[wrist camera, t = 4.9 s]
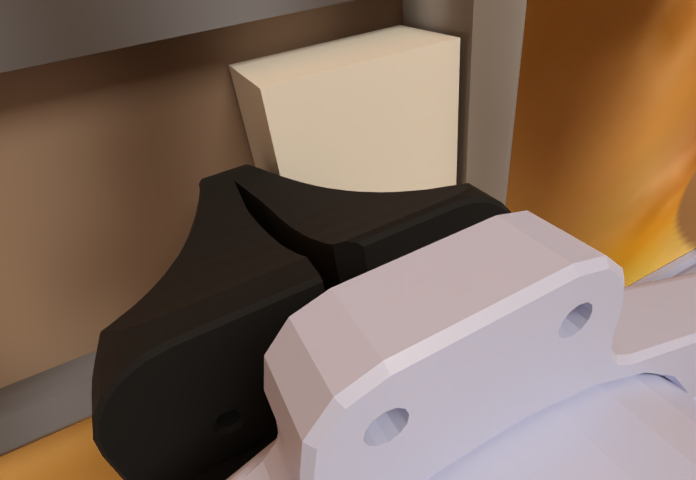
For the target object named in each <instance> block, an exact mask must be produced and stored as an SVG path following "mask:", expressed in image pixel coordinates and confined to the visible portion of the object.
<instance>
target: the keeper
mask: <svg viewBox="0 0 696 480" xmlns="http://www.w3.org/2000/svg"><path fill="white" fill-rule="evenodd" d="M459 67H460V37H455V36H450V35H445V34H441V33H436V32H431V31H426V30H422V29H417V28H412V27H407V26H402V25H397V26H393V27H389V28H384V29H380V30H376V31H372V32H367V33H363V34H359V35H354V36H350V37H346V38H341V39H337V40H333V41H329V42H324V43H320V44H316V45H311V46H307V47H303V48H298V49H294V50H290V51H286V52H281V53H277V54H273V55H268V56H264V57H260V58H256V59H251V60H247V61H243V62H238V63H234V64H230V65H229V69H230V73H231V77H232V80H233V84H234V88H235V92H236V96H237V99H238V103H239V107H240V111H241V114H242V118H243V122H244V126H245V130H246V133H247V137H248V141H249V145H250V149H251V152H252V156H253V160H254V164H255V167H257V168H260V169H263V170H265V171H268V172H271V173H274V174H277V175H280V176H283V177H286V178H289V179H292V180H295V181H299V182H303V183H307V184H311V185H315V186H320V187H325V188H331V189H339V190H346V191H358V192H402V191H415V190H426V189H433V188H439V187H445V186H452V185H456V175H457V139H458V103H459Z"/></svg>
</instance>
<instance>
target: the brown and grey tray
mask: <svg viewBox="0 0 696 480" xmlns="http://www.w3.org/2000/svg"><path fill="white" fill-rule="evenodd" d="M526 5H527V0H0V457H1V456H3V455H5V454H7V453H10V452H12V451H14V450H17V449H19V448H21V447H23V446H26V445H28V444H30V443H33V442H35V441H37V440H39V439H42V438H44V437H46V436H49V435H51V434H53V433H55V432H58V431H60V430H62V429H65V428H67V427H69V426H71V425H74V424H76V423H78V422H81V421H83V420H85V419H87V418H90V417H92V395H91V391H92V375H93V369H94V363H95V357H96V352H97V346H98V341H99V335H100V332H101V331H102V330H103V329H105V328H106V327H108V326H109V325H110V324H111V323H113V322H114V321H115V320H116V319H118V318H119V317H120V316H121V315H123V314H124V313H125V312H126V311H128V310H129V309H130V308H131V307H133V306H134V305H135V304H136V303H137V302H138V301H139V300H140V299H142V298H143V297H144V296H145V295H146V294H147V293H148V292H149V291H150V290H151V289H152V288H153V287H154V286H155V284H156V283H157V282H158V281H159V280H160V279H161V278H162V277H163V276H164V274H165V273H166V272H167V270H168V269H169V268H170V266H171V265H172V263H173V262H174V261H175V259H176V258H177V257H178V255H179V254H180V252H181V250H182V248H183V246H184V244H185V242H186V240H187V238H188V235H189V233H190V230H191V227H192V224H193V221H194V218H195V215H196V211H197V206H198V201H199V192H200V189H199V183H200V181H201V179H203V178H206V177H209V176H212V175H215V174H218V173H221V172H224V171H227V170H230V169H233V168H236V167H239V166H242V165H245V164H248V165H251V166H254V167H255V164H254V160H253V156H252V152H251V149H250V145H249V141H248V137H247V133H246V130H245V126H244V122H243V118H242V114H241V111H240V107H239V103H238V99H237V96H236V92H235V88H234V84H233V80H232V77H231V73H230V69H229V65H230V64H234V63H238V62H243V61H247V60H251V59H256V58H260V57H264V56H268V55H273V54H277V53H281V52H286V51H290V50H294V49H298V48H303V47H307V46H311V45H316V44H320V43H324V42H329V41H333V40H337V39H341V38H346V37H350V36H354V35H359V34H363V33H367V32H372V31H376V30H380V29H384V28H389V27H393V26H397V25H402V26H407V27H412V28H417V29H422V30H426V31H431V32H436V33H441V34H445V35H450V36H455V37H460V67H459V103H458V139H457V175H456V185H458V184H464V183H470V184H471V185H473V186H475V187H476V188H478V189H480V190H481V191H483V192H485V193H487V194H488V195H490V196H492V197H493V198H495V199H497V200H498V201H500V202H502V203H503V204H504V205H505V206H506V197H507V187H508V178H509V168H510V159H511V149H512V140H513V130H514V120H515V111H516V101H517V92H518V82H519V73H520V63H521V53H522V44H523V34H524V25H525V15H526Z"/></svg>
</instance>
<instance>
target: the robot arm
mask: <svg viewBox="0 0 696 480" xmlns="http://www.w3.org/2000/svg"><path fill="white" fill-rule="evenodd" d="M199 189H200V192H199V201H198V206H197V211H196V215H195V218H194V221H193V224H192V227H191V230H190V233H189V235H188V238H187V240H186V242H185V244H184V246H183V248H182V250H181V252H180V254H179V255H178V257H177V258H176V259H175V261H174V262H173V263H172V265H171V266H170V268H169V269H168V270H167V272H166V273H165V274H164V276H163V277H162V278H161V279H160V280H159V281H158V282H157V283H156V284H155V286H154V287H153V288H152V289H151V290H150V291H149V292H148V293H147V294H146V295H145V296H144V297H143V298H142V299H140V300H139V301H138V302H137V303H136V304H135V305H134V306H133V307H131V308H130V309H129V310H128V311H126V312H125V313H124V314H123V315H121V316H120V317H119V318H118V319H116V320H115V321H114V322H113V323H111V324H110V325H109V326H108V327H106V328H105V329H103V330H102V331H101V332H100V335H99V341H98V346H97V352H96V357H95V363H94V369H93V375H92V391H91V395H92V424H93V440H94V442H95V443H96V445H97V447H98V449H99V451H100V452H101V454H102V456H103V457H104V458H105V459H106V461H107V462H108V463H109V464H110V465H111V466H112V467H113V468H114V469H115V471H116V472H117V473H118V474H119V475H120V476H121V477H122V478H123V479H124V480H696V248H695V249H694V250H692V251H690V252H688V253H686V254H685V255H683V256H681V257H679V258H677V259H676V260H674V261H672V262H670V263H668V264H667V265H665V266H663V267H661V268H660V269H658V270H656V271H654V272H652V273H651V274H649V275H647V276H645V277H643V278H642V279H640V280H638V281H636V282H634V283H633V284H631V285H629V286H627V287H624V273H623V268H621V267H620V266H619V265H618V264H616V263H615V262H614V261H613V260H611V259H610V258H609V257H608V256H606V255H605V254H603V253H601V252H599V251H598V250H596V249H594V248H592V247H591V246H589V245H587V244H585V243H584V242H582V241H580V240H578V239H577V238H575V237H573V236H571V235H570V234H568V233H566V232H564V231H563V230H561V229H559V228H557V227H556V226H554V225H552V224H550V223H549V222H547V221H545V220H543V219H542V218H540V217H538V216H536V215H535V214H533V213H531V212H529V211H528V210H526V211H520V212H514V213H511V212H510V211H509V210H508V209H507V208H506V206H505V205H504V204H503V203H502V202H500V201H498V200H497V199H495V198H493V197H492V196H490V195H488V194H487V193H485V192H483V191H481V190H480V189H478V188H476V187H475V186H473V185H471V184H470V183H464V184H458V185H452V186H445V187H439V188H433V189H426V190H415V191H402V192H358V191H346V190H339V189H331V188H325V187H320V186H315V185H311V184H307V183H303V182H299V181H295V180H292V179H289V178H286V177H283V176H280V175H277V174H274V173H271V172H268V171H265V170H263V169H260V168H257V167H254V166H251V165H248V164H245V165H242V166H239V167H236V168H233V169H230V170H227V171H224V172H221V173H218V174H215V175H212V176H209V177H206V178H203V179H201V181H200V183H199Z"/></svg>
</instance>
